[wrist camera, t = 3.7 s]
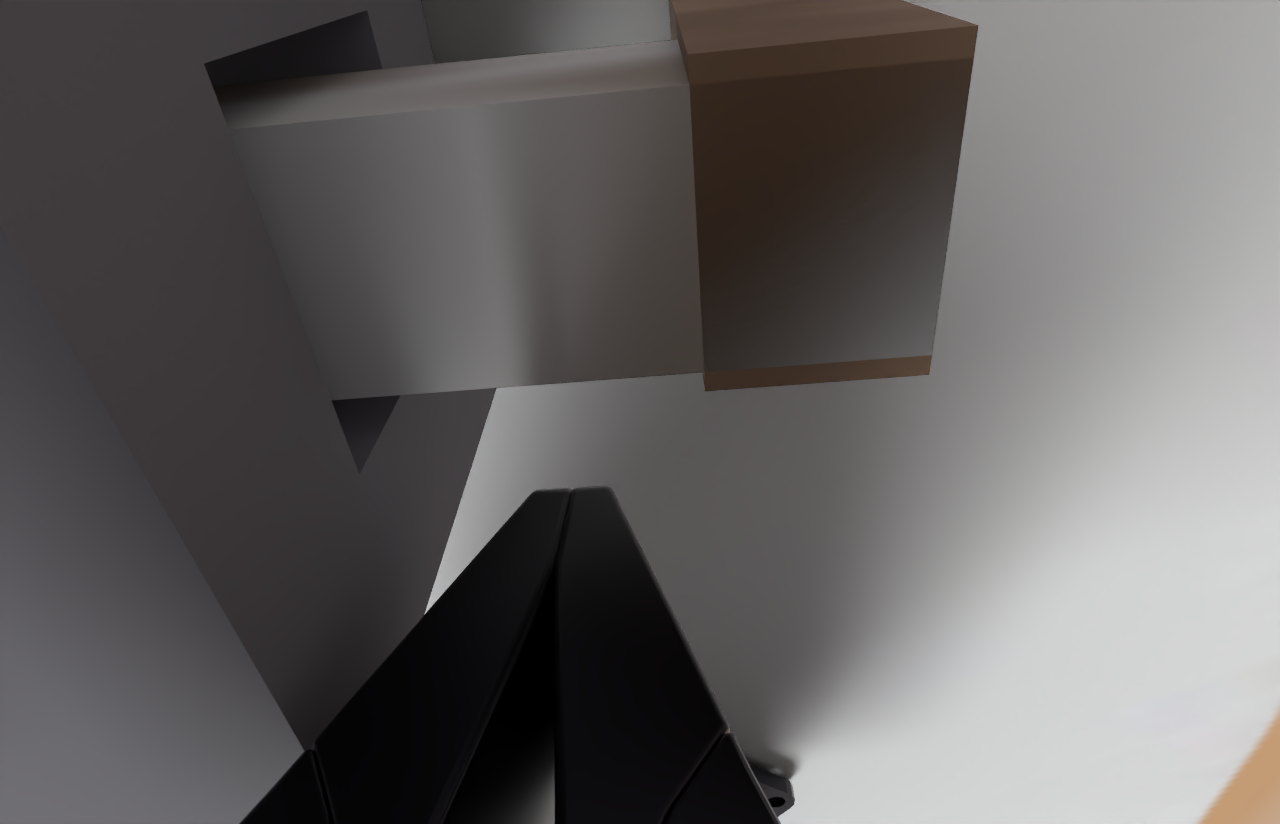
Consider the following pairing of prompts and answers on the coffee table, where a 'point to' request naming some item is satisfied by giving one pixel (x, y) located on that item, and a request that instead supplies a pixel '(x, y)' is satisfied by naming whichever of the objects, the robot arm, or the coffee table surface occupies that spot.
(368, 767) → the robot arm
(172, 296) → the collar
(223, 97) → the pipe stand
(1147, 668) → the coffee table surface
